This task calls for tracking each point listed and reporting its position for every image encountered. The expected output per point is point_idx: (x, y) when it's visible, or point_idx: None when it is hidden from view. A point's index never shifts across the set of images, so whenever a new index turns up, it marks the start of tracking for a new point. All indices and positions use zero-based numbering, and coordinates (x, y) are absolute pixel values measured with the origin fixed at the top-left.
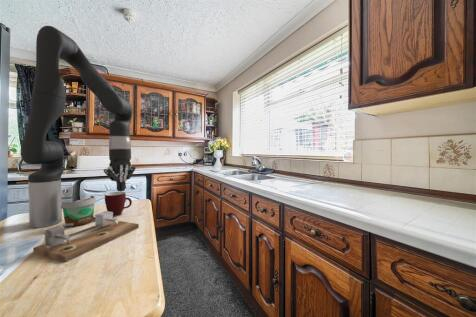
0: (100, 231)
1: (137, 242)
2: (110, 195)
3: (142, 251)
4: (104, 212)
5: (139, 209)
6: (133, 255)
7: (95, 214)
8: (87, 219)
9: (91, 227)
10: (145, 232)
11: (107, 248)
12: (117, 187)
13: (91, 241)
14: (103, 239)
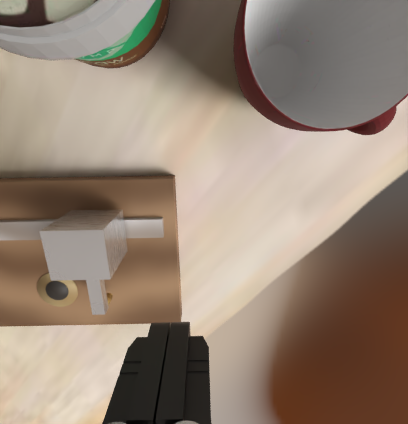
0: None
1: (103, 378)
2: (251, 68)
3: (78, 415)
4: (81, 248)
5: (400, 119)
6: (56, 411)
7: (40, 232)
8: (106, 63)
9: (68, 188)
10: None
11: (40, 341)
12: (124, 373)
13: (9, 306)
14: (37, 324)
